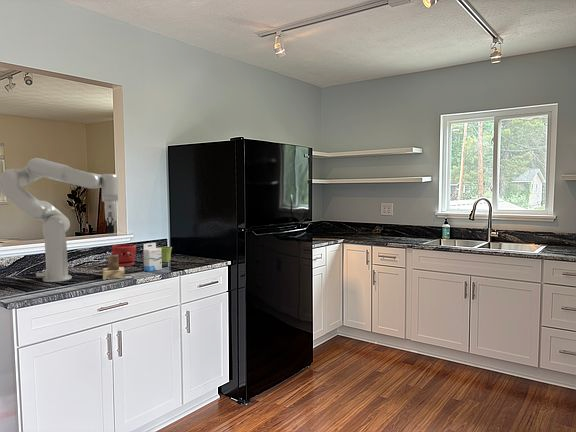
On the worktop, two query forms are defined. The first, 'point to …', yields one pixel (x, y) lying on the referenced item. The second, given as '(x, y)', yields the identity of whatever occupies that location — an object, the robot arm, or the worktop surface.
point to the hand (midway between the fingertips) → (110, 232)
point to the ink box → (152, 257)
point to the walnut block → (113, 262)
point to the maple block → (113, 273)
